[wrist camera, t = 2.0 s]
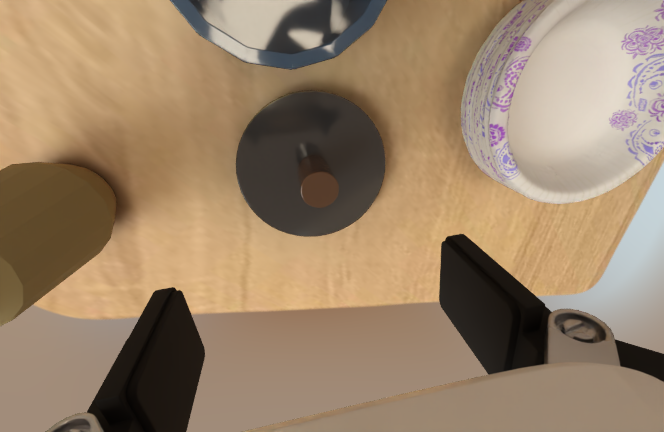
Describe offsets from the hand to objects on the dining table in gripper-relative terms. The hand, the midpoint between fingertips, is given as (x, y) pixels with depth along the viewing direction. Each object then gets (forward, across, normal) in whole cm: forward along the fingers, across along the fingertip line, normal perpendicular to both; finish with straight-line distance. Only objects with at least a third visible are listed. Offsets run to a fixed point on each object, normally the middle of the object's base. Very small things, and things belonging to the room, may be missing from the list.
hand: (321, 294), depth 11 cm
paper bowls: (+18, -21, -3) cm, 28 cm away
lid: (+18, -2, +1) cm, 18 cm away
